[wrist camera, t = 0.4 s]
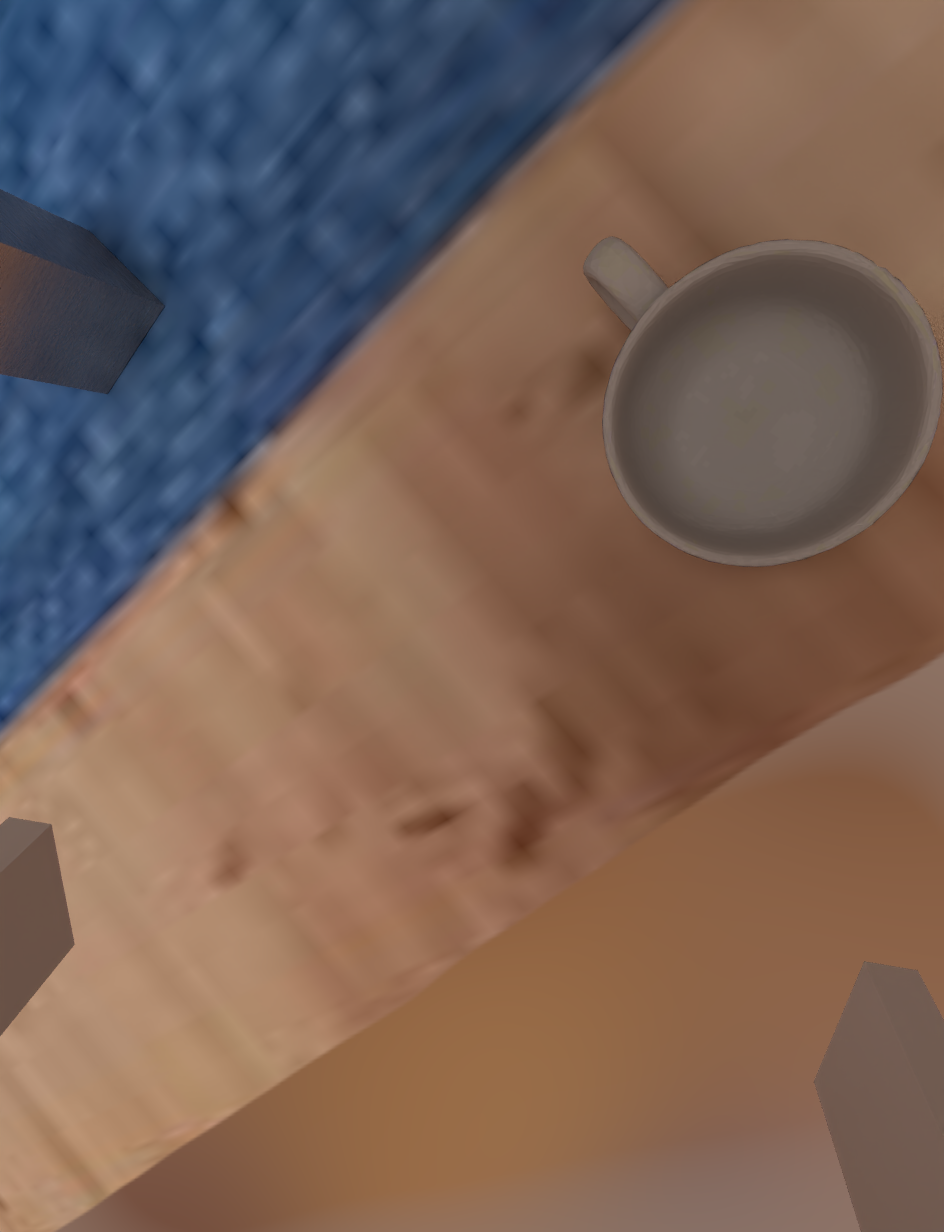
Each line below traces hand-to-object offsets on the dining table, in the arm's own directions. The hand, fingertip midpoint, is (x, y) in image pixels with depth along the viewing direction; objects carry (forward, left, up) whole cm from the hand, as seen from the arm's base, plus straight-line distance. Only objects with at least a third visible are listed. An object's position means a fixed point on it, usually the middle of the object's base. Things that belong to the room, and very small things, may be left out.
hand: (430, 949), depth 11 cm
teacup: (-12, +4, -25) cm, 28 cm away
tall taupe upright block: (-13, -29, -24) cm, 40 cm away
